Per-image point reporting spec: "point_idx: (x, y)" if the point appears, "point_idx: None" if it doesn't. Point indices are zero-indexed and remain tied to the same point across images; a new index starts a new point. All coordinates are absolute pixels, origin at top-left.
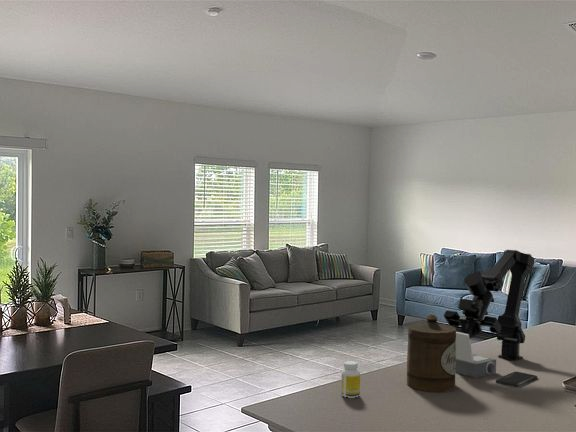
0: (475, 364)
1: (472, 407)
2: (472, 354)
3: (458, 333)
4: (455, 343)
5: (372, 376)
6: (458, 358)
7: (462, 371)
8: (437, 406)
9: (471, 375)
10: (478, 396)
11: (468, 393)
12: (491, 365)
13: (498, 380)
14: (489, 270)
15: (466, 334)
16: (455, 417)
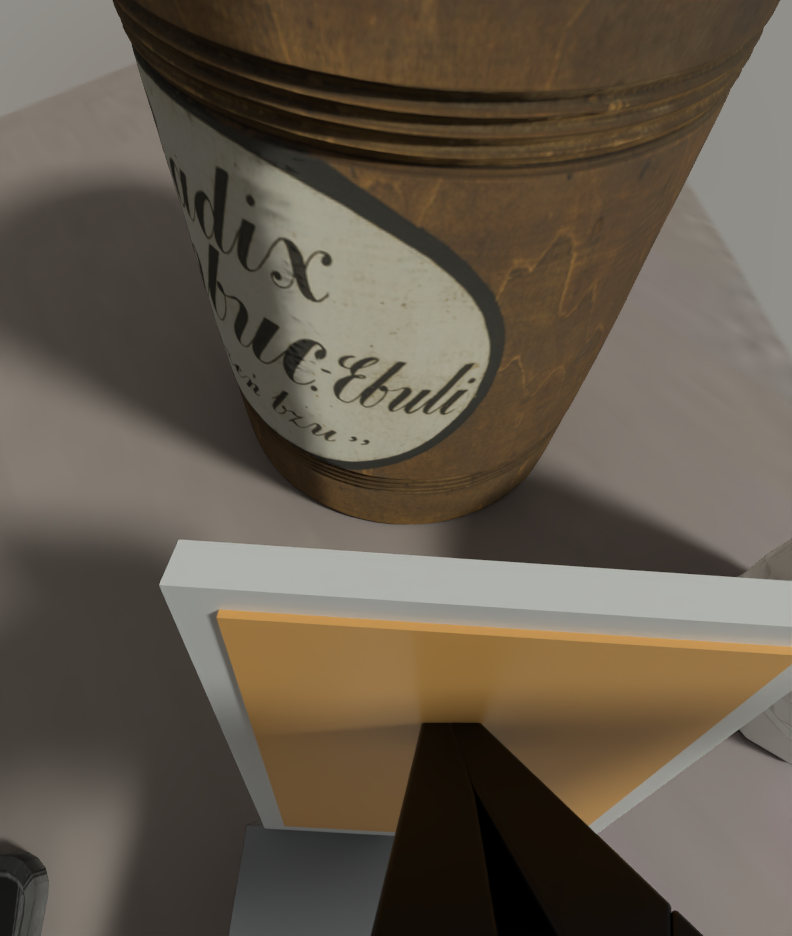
0: (246, 831)
1: (28, 268)
2: (247, 786)
3: (505, 564)
4: (156, 114)
5: (698, 294)
6: None
7: None
8: (176, 197)
9: None
10: (56, 414)
11: (134, 417)
12: None
13: (3, 904)
14: None
15: (235, 561)
16: (55, 160)
